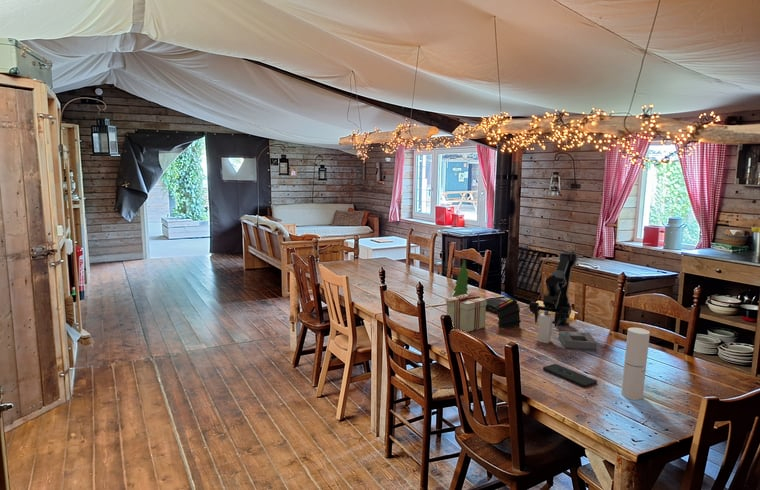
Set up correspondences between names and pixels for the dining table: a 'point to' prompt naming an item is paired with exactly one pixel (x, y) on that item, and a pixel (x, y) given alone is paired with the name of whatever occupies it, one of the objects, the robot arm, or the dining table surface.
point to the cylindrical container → (635, 363)
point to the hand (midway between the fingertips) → (545, 324)
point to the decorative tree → (461, 281)
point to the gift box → (467, 311)
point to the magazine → (508, 314)
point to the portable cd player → (494, 304)
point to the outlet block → (577, 341)
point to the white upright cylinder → (545, 327)
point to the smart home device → (570, 375)
